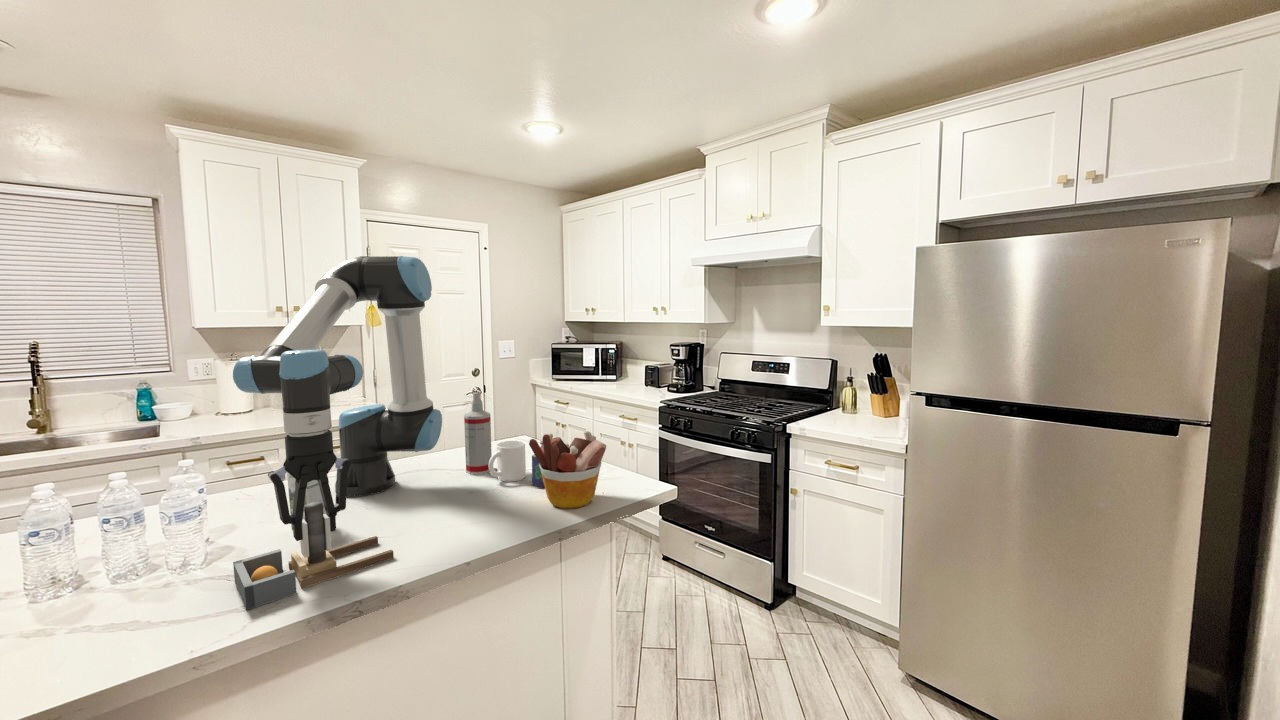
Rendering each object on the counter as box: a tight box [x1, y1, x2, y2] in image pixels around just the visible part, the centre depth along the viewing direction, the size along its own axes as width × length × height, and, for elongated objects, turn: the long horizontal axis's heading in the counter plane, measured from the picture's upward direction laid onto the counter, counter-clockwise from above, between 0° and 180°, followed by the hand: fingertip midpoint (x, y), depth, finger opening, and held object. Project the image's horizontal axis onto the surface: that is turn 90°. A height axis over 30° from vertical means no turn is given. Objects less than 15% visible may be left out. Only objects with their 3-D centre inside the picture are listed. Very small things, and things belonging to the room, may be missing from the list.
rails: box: [288, 535, 395, 589], centre depth 102 cm, size 10×16×2 cm, turn 135°
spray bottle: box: [463, 392, 493, 476], centre depth 159 cm, size 8×8×25 cm
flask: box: [531, 453, 545, 490], centre depth 145 cm, size 9×3×11 cm, turn 61°
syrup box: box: [286, 472, 326, 531], centre depth 118 cm, size 6×6×14 cm
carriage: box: [290, 502, 338, 582], centre depth 98 cm, size 7×6×13 cm
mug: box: [489, 440, 527, 483], centre depth 152 cm, size 12×8×10 cm
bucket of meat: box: [528, 431, 607, 510], centre depth 133 cm, size 20×16×20 cm
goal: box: [232, 548, 297, 611], centre depth 92 cm, size 12×7×4 cm, turn 45°
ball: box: [251, 566, 279, 582], centre depth 92 cm, size 4×4×4 cm
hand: (316, 551), depth 98 cm, fingers closed on carriage, 3 cm apart
